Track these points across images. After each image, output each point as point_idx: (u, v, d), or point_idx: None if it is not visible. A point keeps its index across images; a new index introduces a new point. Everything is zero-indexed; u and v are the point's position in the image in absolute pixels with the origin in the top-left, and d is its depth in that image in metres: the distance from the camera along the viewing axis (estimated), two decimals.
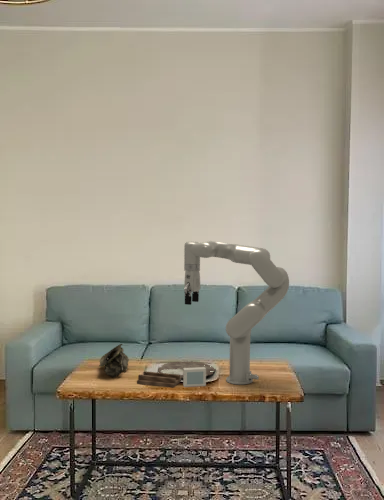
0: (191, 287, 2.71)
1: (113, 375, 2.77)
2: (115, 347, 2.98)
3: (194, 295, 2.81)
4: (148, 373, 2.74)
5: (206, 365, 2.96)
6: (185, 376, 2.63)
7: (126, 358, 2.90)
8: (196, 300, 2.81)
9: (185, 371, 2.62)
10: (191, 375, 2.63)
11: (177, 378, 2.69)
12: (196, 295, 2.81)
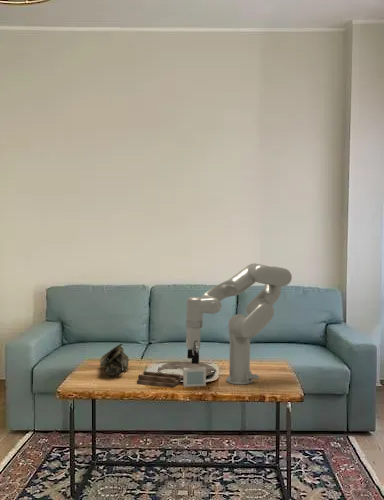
0: None
1: (113, 375, 2.77)
2: (115, 347, 2.98)
3: None
4: (148, 373, 2.74)
5: (206, 365, 2.96)
6: (185, 376, 2.63)
7: (126, 358, 2.90)
8: None
9: (185, 371, 2.62)
10: (191, 375, 2.63)
11: (177, 378, 2.69)
12: None
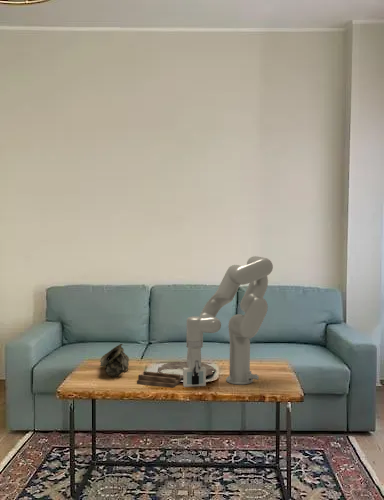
0: None
1: (114, 375, 2.77)
2: (115, 347, 2.98)
3: None
4: (148, 373, 2.74)
5: (206, 365, 2.96)
6: (185, 376, 2.63)
7: (126, 358, 2.91)
8: None
9: (185, 371, 2.62)
10: (190, 375, 2.63)
11: (177, 378, 2.69)
12: None
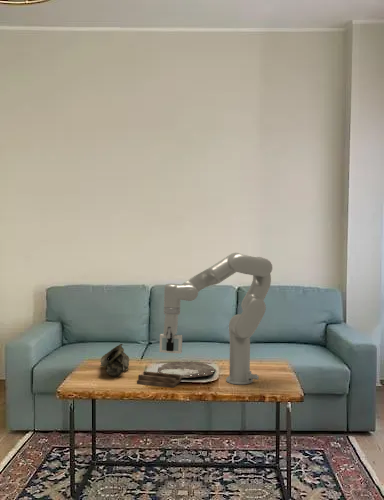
0: None
1: (114, 375, 2.78)
2: (115, 347, 2.98)
3: None
4: (148, 373, 2.74)
5: (206, 365, 2.96)
6: (160, 341, 2.66)
7: (127, 358, 2.91)
8: None
9: (160, 336, 2.66)
10: (166, 341, 2.66)
11: (177, 378, 2.69)
12: None
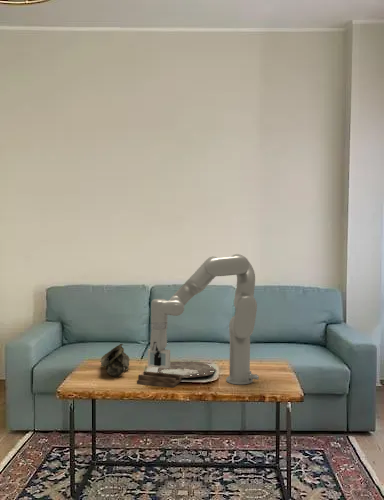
0: None
1: (115, 375, 2.78)
2: (115, 347, 2.98)
3: None
4: (148, 373, 2.74)
5: (206, 365, 2.96)
6: (148, 356, 2.69)
7: (127, 358, 2.91)
8: None
9: (148, 351, 2.69)
10: (153, 356, 2.68)
11: (177, 378, 2.69)
12: None
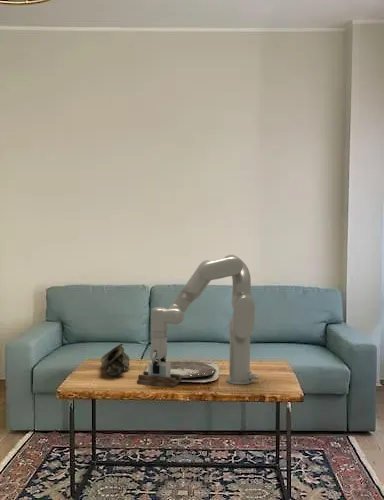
0: None
1: (115, 375, 2.78)
2: (115, 347, 2.98)
3: None
4: None
5: (206, 365, 2.96)
6: (149, 368, 2.69)
7: (127, 358, 2.91)
8: None
9: (149, 363, 2.69)
10: None
11: (177, 378, 2.69)
12: None
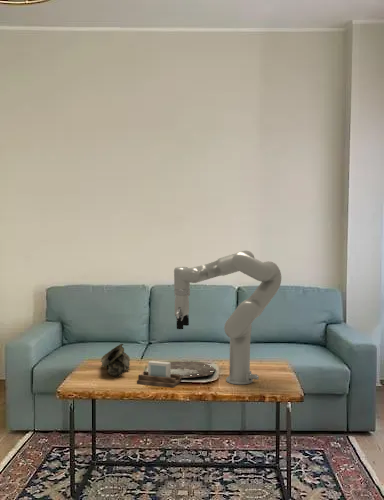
0: None
1: (116, 375, 2.78)
2: (116, 347, 2.98)
3: None
4: None
5: (206, 365, 2.96)
6: (149, 368, 2.69)
7: (127, 358, 2.91)
8: None
9: (149, 363, 2.69)
10: (154, 369, 2.69)
11: (177, 378, 2.69)
12: None
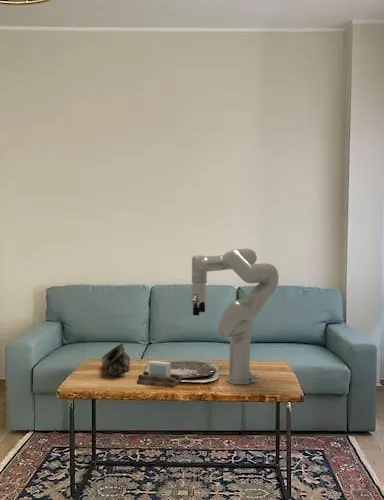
0: None
1: (116, 375, 2.78)
2: (116, 347, 2.98)
3: None
4: None
5: (206, 365, 2.96)
6: (149, 368, 2.69)
7: (128, 358, 2.91)
8: None
9: (149, 363, 2.69)
10: (154, 369, 2.69)
11: (177, 378, 2.69)
12: None
